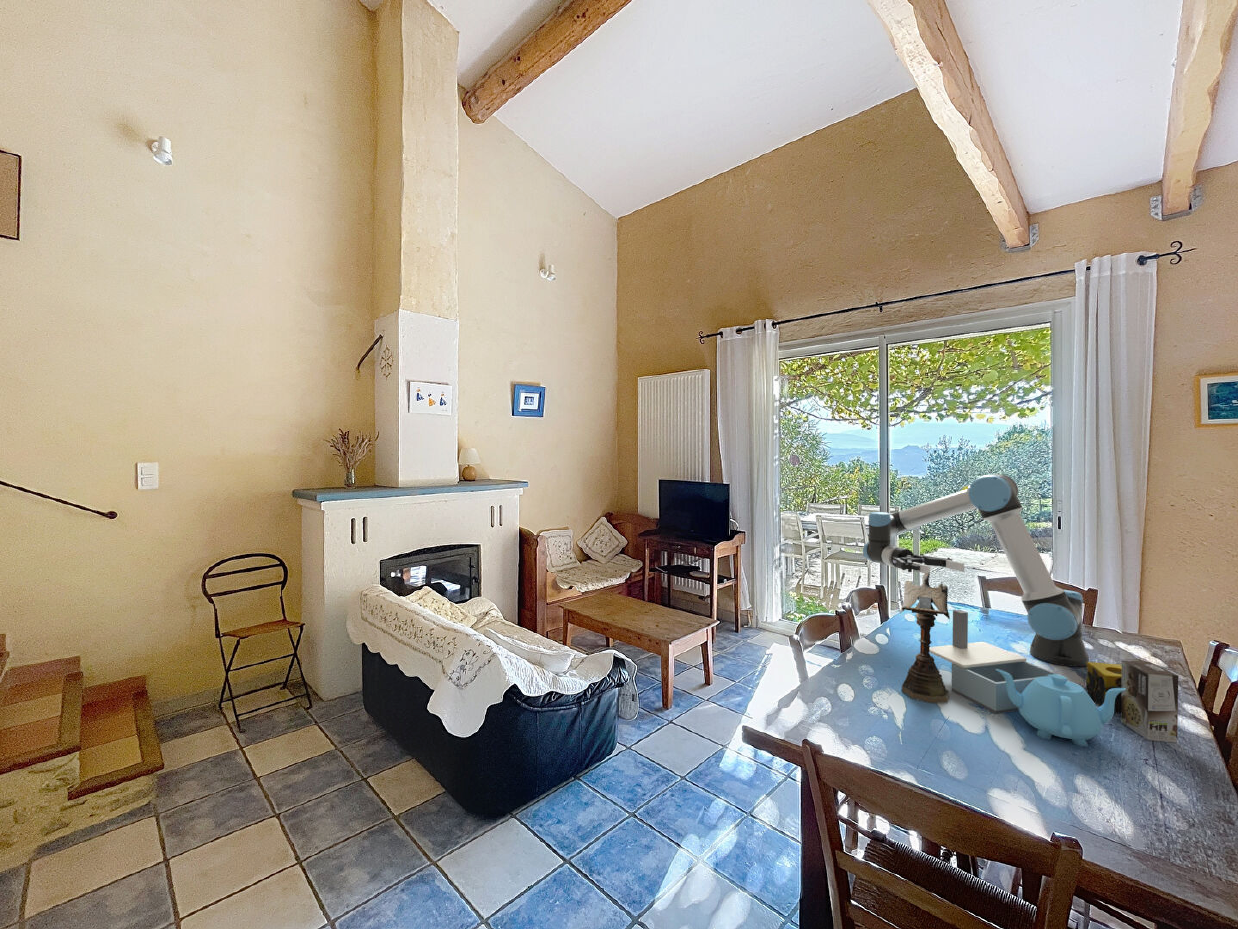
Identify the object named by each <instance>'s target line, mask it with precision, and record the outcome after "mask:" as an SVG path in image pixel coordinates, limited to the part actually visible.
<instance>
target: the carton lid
mask: <svg viewBox="0 0 1238 929" xmlns="http://www.w3.org/2000/svg"><path fill="white" fill-rule="evenodd" d="M968 625H969V613H968V612H967V611H964V610H961V609H953V610H952V644H947V645H937V646H930V647H929V648H930V649H929V650H930V651H929V654H932V655H933V656H936V657H938V658H941V659H942V660H945V661H948V662H949V663H951V664H952V663H954V664H956V665H958V666H960V667H962V668H970V667H979V666H987V665H996V664H1005V663H1014V662H1022V661H1026V662H1027V657H1024V656H1022V655H1019V654H1016V653H1014V652H1011V651H1008V650H1005V649H1004V648H1002V647H998V646H996V645H993V644H991V643H988V642H985V641H978V642H977V641H976V642H969V640H968V639H969V637H968V636H969V635H968V634H969V632H968V630H969V626H968Z"/></svg>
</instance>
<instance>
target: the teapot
mask: <svg viewBox="0 0 1238 929" xmlns="http://www.w3.org/2000/svg"><path fill="white" fill-rule="evenodd" d="M996 670H997V671H998V672H999V673H1001V674H1002V675H1003V677H1004V678H1005V681H1006V686H1007V693H1008V696H1009V699H1010V700H1011V702H1012V703H1013V704H1014V705H1015V706H1017V707H1018V709H1019V711H1018V712H1019V713H1020V715H1021V716H1022V718H1024V719H1025V720H1024V721H1026V722H1027V724H1029V725H1030V726H1032V727H1033V728H1035V729H1038V730H1037V732H1036V733H1035V734H1036V735H1037V736H1038V737H1039V738H1042V739H1048V740H1049V739H1051V738H1052V736H1055V737H1059V738H1064V739H1069V740H1071V741H1072V742H1073V744H1075V745H1077V746H1081V747H1088V746H1089V744H1088V743H1087V741H1086V740H1091V739H1093V738H1094V737H1096V736H1098V735H1099V734H1100V733H1101V732H1102V731H1103V725H1104V724H1106V723H1109V721H1111V720H1112V719H1113V717H1114V713H1115V712H1114V705H1115V698H1116V696H1117V695H1118V694H1119V693H1120V692H1122V691H1124V690H1126V688H1113V689H1110V690H1108V691H1107V693H1106V695H1105V701H1104V703H1103V705H1101V706H1097V704H1096V703H1095V702H1093V700H1092V699H1091V698H1090V696H1089V695H1088V693H1087V690H1086V689H1085V688H1084V687H1082V686H1081V685H1080V684H1077V683H1075V682H1074V681H1070V680H1068V677H1066V676H1064V675H1062V674H1059V673H1056V674H1052V675H1047V677H1037V678H1035V679H1034V680H1033V681H1032V682H1031V683H1030V684H1029V685H1028V686H1027V687H1026V688H1025V689H1024V691H1023V692H1022V694H1020V693H1019V692H1017V691H1016V689H1015V685H1014V680H1013V678H1012V676H1011V675H1010V674H1009V673H1007V672H1005V671H1002V670H999V669H996ZM1058 674H1059V675H1058Z"/></svg>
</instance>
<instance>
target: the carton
mask: <svg viewBox="0 0 1238 929" xmlns="http://www.w3.org/2000/svg"><path fill="white" fill-rule="evenodd" d="M996 669H999V670H1002V671H1005V672H1007V673H1009V674H1010V675H1011V676H1012V678H1013V680H1014V685H1015V689H1016V691H1017V692H1019V693H1020V694H1022V692H1023V691H1024V689H1025V688H1026V687H1027V686H1028V685H1029V684H1030V683H1031V682H1032V681H1033V680H1034V679H1035V678H1037V677H1047V675H1052V674H1058V675H1060V674H1059V673H1056V672H1053V671H1051V670H1050V669H1049V670H1048V669H1046V668H1044V667H1041V666H1038V665H1036V664H1033V663H1032V662H1031V663H1030V662H1028V661H1027V660H1026V661H1022V662H1014V663H1005V664H996V665H987V666H979V667H970V668H962V667H960V666H958V665H956V664H954V663H951V692H953V693H955V694H957V695H958V696H960V697H963V698H964V699H966V700H968V701H970V702H972V703H974V704H976V705H978V706H979V707H981V708H984V709H986V710H987V711H989V712H992V713H993V714H995V715H996V714H997V715H999V714H1005V713H1011V712H1012V713H1013V712H1019V709H1018V707H1017V706H1015V705H1014V704H1013V703H1012V702H1011V700H1010V699H1009V696H1008V693H1007V686H1006V681H1005V678H1004V677H1003V675H1002V674H1001V673H999V672H998V671H997V670H996Z"/></svg>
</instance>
